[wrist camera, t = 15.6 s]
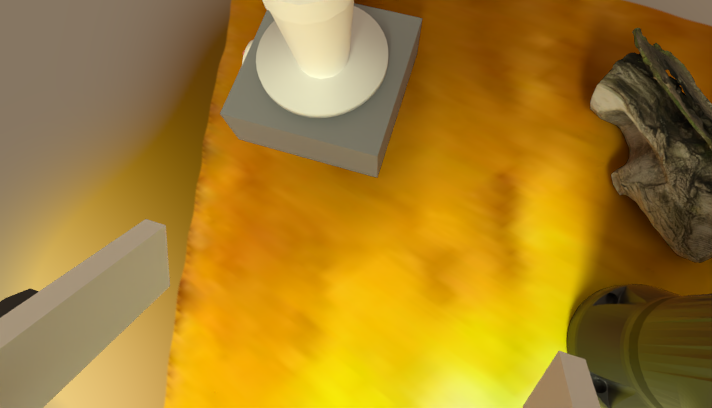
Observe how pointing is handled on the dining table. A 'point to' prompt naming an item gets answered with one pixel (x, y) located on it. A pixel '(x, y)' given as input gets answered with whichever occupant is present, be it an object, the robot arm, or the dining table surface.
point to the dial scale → (326, 93)
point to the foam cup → (315, 33)
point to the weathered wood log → (662, 144)
